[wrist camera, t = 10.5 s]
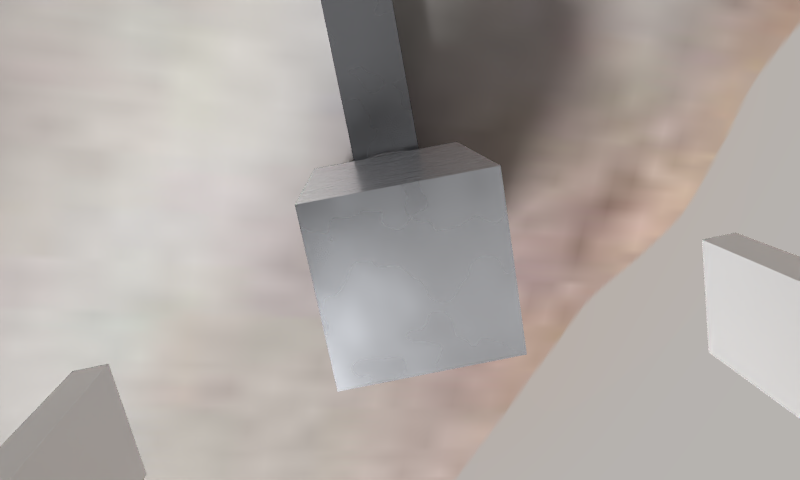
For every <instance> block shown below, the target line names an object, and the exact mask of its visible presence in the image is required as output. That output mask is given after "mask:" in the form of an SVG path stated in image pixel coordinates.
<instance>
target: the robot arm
mask: <svg viewBox="0 0 800 480" xmlns="http://www.w3.org/2000/svg"><path fill="white" fill-rule="evenodd" d="M702 246H703V262H704V279H705V297H706V313H707V331H708V348H709V353H710V354H712V355H714V356H715V357H716V358H718V359H719V360H720V361H722V362H723V363H724V364H726V365H727V366H728V367H730V368H731V369H732V370H734V371H735V372H737V373H738V374H739V375H741V376H742V377H743V378H745V379H746V380H747V381H749V382H751V383H752V384H753V385H755V386H756V387H757V388H758V389H760V390H761V391H763V392H764V393H765V394H767V395H768V396H769V397H771V398H772V399H774V400H775V401H776V402H778V403H779V404H780V405H782V406H783V407H784V408H786V409H788V410H789V411H790V412H791V413H793V414H794V415H796V416H797V417H798V418H800V257H799V256H796V255H793V254H791V253H788V252H786V251H783V250H780V249H778V248H775V247H772V246H769V245H767V244H764V243H761V242H759V241H756V240H754V239H751V238H748V237H745V236H743V235H740V234H737V233H732V234H727V235H723V236H717V237H713V238H708V239H703V240H702ZM145 476H146V471H145V468H144V465H143V463H142V460H141V457H140V454H139V451H138V448H137V445H136V442H135V439H134V436H133V434H132V431H131V428H130V425H129V422H128V419H127V416H126V413H125V410H124V407H123V404H122V402H121V399H120V396H119V393H118V390H117V387H116V384H115V381H114V378H113V375H112V373H111V370H110V367H109V364H105V365H100V366H95V367H91V368H86V369H81V370H76V371H72V372H71V373H70V374H69V375H68V376H67V377H66V379H65V380H64V381H63V382H62V383H61V384H60V385H59V386H58V387H57V388H56V389H55V390H54V391H53V392H52V393H51V394H50V395H49V396H48V397H47V398H46V399H45V400H44V402H43V403H42V404H41V405H40V406H39V407H38V408H37V409H36V410H35V411H34V412H33V413H32V414H31V415H30V416H29V417H28V418H27V419H26V420H25V421H24V422H23V424H22V425H21V426H20V427H19V428H18V429H17V430H16V431H15V432H14V433H13V434H12V435H11V436H10V437H9V438H8V439H7V440H6V441H5V442H4V443H3V444H2V445H1V447H0V480H144V478H145Z"/></svg>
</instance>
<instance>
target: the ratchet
mask: <svg viewBox="0 0 800 480" xmlns="http://www.w3.org/2000/svg"><path fill="white" fill-rule="evenodd" d="M321 3H322V8H323V13H324V18H325V22H326V27H327V32H328V37H329V42H330V47H331V51H332V56H333V61H334V66H335V71H336V75H337V80H338V85H339V90H340V95H341V100H342V104H343V109H344V114H345V119H346V124H347V129H348V133H349V138H350V143H351V148H352V153H353V158H354V161H358V160H363V159H368V158H374V157H379V156H384V155H390V154H395V153H400V152H405V151H411V150H416V149H418V143H417V137H416V132H415V126H414V121H413V115H412V110H411V104H410V98H409V93H408V87H407V82H406V76H405V70H404V65H403V59H402V54H401V48H400V43H399V37H398V31H397V26H396V20H395V15H394V9H393V3H392V0H321ZM352 162H353V161H352Z"/></svg>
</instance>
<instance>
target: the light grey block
mask: <svg viewBox="0 0 800 480" xmlns="http://www.w3.org/2000/svg"><path fill="white" fill-rule="evenodd" d="M295 207H296V211H297V216H298V220H299V225H300V229H301V233H302V238H303V242H304V246H305V251H306V255H307V260H308V264H309V268H310V273H311V277H312V281H313V286H314V290H315V294H316V299H317V303H318V308H319V312H320V316H321V321H322V325H323V329H324V334H325V338H326V343H327V347H328V351H329V356H330V360H331V364H332V369H333V373H334V377H335V382H336V386H337V391H343V390H348V389H353V388H358V387H363V386H368V385H373V384H378V383H383V382H389V381H394V380H399V379H404V378H409V377H414V376H419V375H424V374H429V373H434V372H439V371H444V370H449V369H455V368H460V367H465V366H470V365H475V364H480V363H485V362H490V361H495V360H500V359H505V358H510V357H515V356H520V355H526V354H527V353H526V345H525V338H524V331H523V324H522V317H521V309H520V302H519V295H518V288H517V280H516V273H515V266H514V259H513V251H512V244H511V237H510V230H509V223H508V215H507V208H506V201H505V194H504V186H503V179H502V172H501V165H499V164H497V163H495V162H493V161H491V160H489V159H488V158H486V157H484V156H482V155H480V154H478V153H477V152H475V151H473V150H471V149H469V148H467V147H465V146H464V145H462V144H460V143H458V142H453V143H448V144H442V145H437V146H432V147H427V148H421V149H416V150H411V151H405V152H400V153H395V154H390V155H384V156H379V157H374V158H368V159H363V160H358V161H353V162H347V163H342V164H337V165H331V166H326V167H321V168H316V169H314V171H313V172H312V174H311V176H310V178H309V180H308V182H307V183H306V185H305V187H304V189H303V191H302V193H301V194H300V196H299V198H298V200H297V202H296V204H295Z"/></svg>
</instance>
